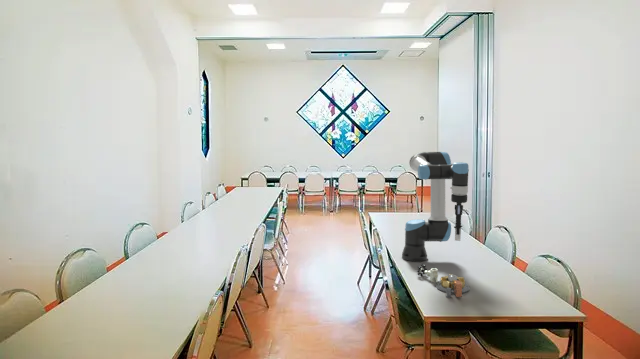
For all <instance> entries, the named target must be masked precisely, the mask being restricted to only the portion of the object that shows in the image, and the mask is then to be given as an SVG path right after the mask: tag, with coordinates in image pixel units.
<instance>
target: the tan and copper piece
mask: <svg viewBox="0 0 640 359" xmlns="http://www.w3.org/2000/svg"><path fill="white" fill-rule="evenodd" d="M450 274H451V273H449V274H448V275H450ZM448 275H445V276H440V280H439V281H440V283H441V285H442V286H443V287H446V288H452V289H453V291H454V293H455V294H454V295H455V297H457V298H460V297H461V298H462V295H463V293H462V288H464V287H465V283H466V280H465V277H464V276H457V280H452V282H450V281H448Z"/></svg>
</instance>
